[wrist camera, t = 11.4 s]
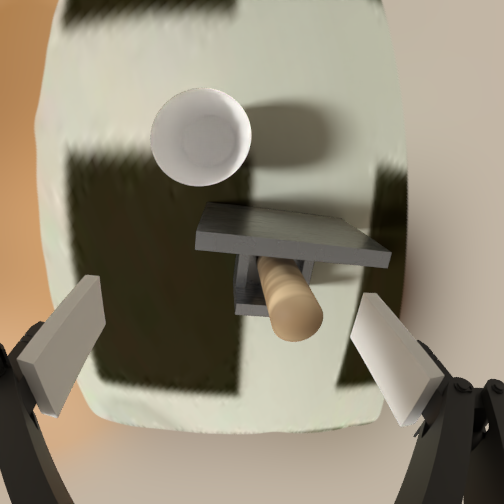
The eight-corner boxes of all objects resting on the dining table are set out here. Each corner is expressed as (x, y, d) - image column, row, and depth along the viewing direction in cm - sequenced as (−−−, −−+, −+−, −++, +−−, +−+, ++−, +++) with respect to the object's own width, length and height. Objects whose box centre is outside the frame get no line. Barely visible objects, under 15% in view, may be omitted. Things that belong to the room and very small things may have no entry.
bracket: (206, 202, 38) (196, 230, 25) (341, 218, 40) (391, 252, 27) (200, 277, 41) (190, 336, 28) (326, 288, 43) (362, 343, 30)
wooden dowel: (258, 241, 37) (276, 295, 24) (293, 245, 37) (328, 298, 24) (253, 275, 38) (267, 340, 25) (287, 278, 39) (316, 342, 26)
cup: (259, 147, 36) (274, 146, 25) (201, 190, 37) (190, 209, 26) (216, 91, 33) (211, 66, 22) (158, 136, 34) (128, 131, 23)
